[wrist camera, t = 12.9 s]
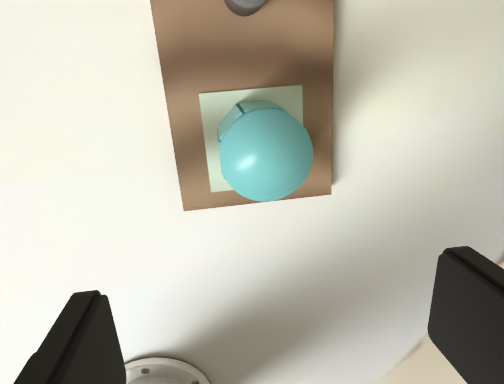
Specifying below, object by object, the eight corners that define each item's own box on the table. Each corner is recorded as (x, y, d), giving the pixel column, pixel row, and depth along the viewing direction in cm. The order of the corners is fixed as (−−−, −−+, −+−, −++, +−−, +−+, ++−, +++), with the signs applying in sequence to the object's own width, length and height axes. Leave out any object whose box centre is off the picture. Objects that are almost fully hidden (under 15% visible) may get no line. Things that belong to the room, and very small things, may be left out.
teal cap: (290, 97, 26) (312, 105, 20) (293, 170, 28) (313, 196, 22) (213, 104, 25) (214, 114, 20) (222, 178, 28) (225, 206, 22)
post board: (325, 188, 31) (365, 229, 23) (185, 204, 30) (176, 253, 22) (327, -108, 23) (389, -200, 15) (137, -101, 22) (95, -196, 14)
